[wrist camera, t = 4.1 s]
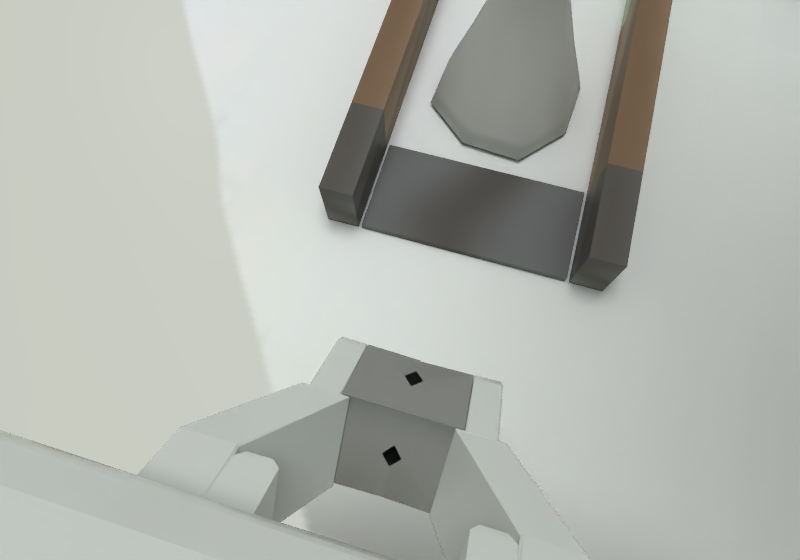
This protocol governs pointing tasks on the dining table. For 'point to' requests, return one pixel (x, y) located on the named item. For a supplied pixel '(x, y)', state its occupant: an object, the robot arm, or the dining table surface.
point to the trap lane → (491, 190)
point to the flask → (512, 77)
